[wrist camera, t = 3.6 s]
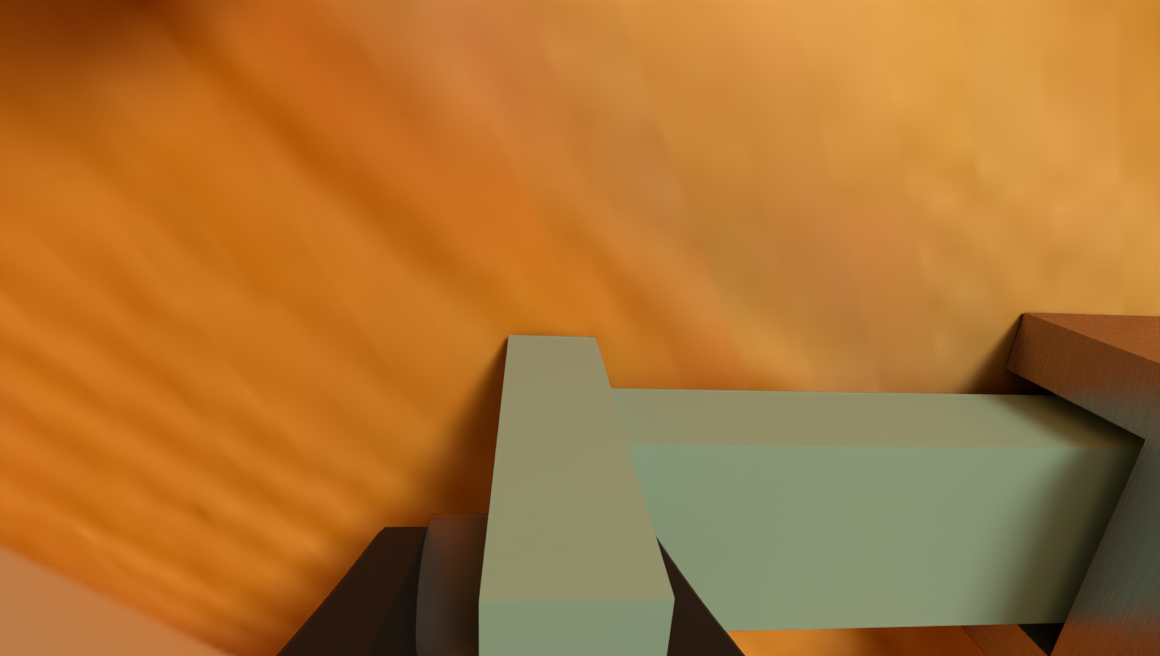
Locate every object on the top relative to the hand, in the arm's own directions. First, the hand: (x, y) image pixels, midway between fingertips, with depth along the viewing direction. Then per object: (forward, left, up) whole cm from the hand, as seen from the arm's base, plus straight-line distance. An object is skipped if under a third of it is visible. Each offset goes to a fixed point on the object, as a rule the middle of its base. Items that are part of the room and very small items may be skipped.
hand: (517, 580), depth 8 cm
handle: (-6, 0, -3) cm, 6 cm away
